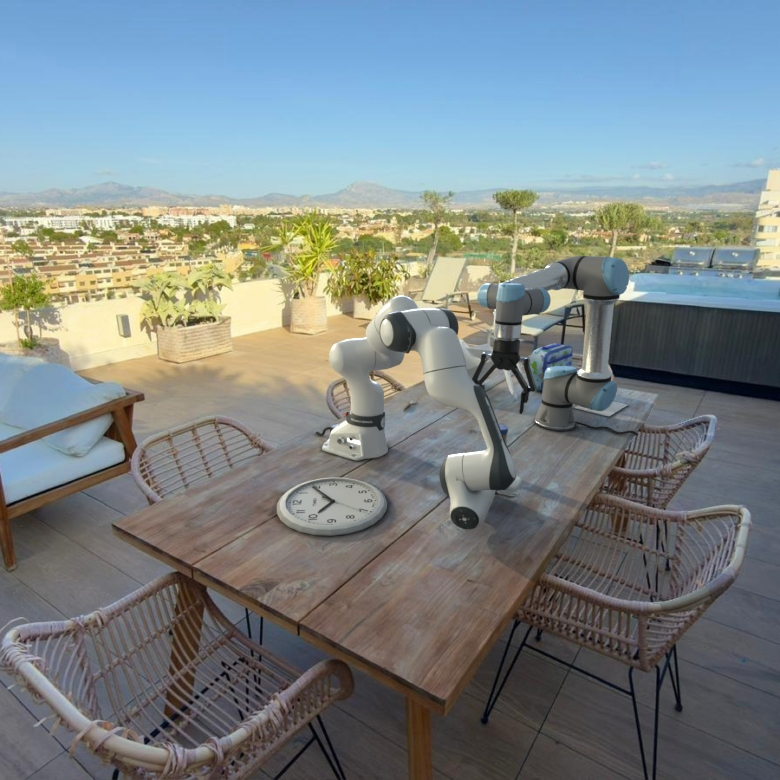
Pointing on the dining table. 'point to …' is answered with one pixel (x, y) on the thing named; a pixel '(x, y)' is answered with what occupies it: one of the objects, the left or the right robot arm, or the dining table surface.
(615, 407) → the invitation card
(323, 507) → the wall clock
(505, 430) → the lid
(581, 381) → the right robot arm
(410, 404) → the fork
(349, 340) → the left robot arm
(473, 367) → the white plastic object
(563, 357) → the lunch box
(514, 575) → the dining table surface
